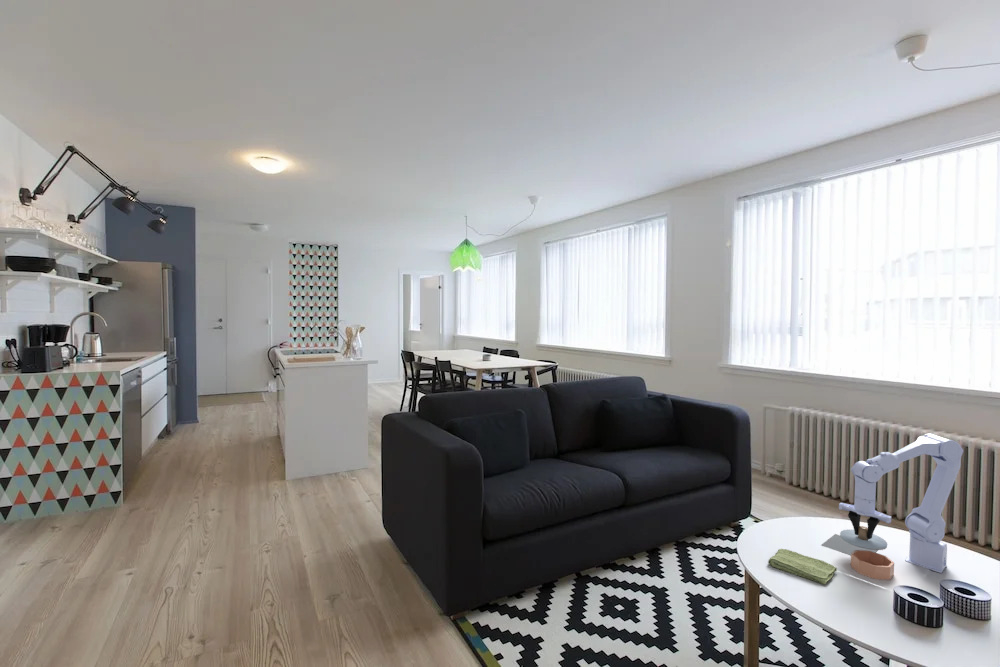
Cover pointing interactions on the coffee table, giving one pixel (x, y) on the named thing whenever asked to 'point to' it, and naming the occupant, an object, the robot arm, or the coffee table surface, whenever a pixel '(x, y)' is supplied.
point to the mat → (842, 545)
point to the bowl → (872, 564)
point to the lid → (863, 539)
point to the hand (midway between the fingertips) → (863, 536)
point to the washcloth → (802, 566)
